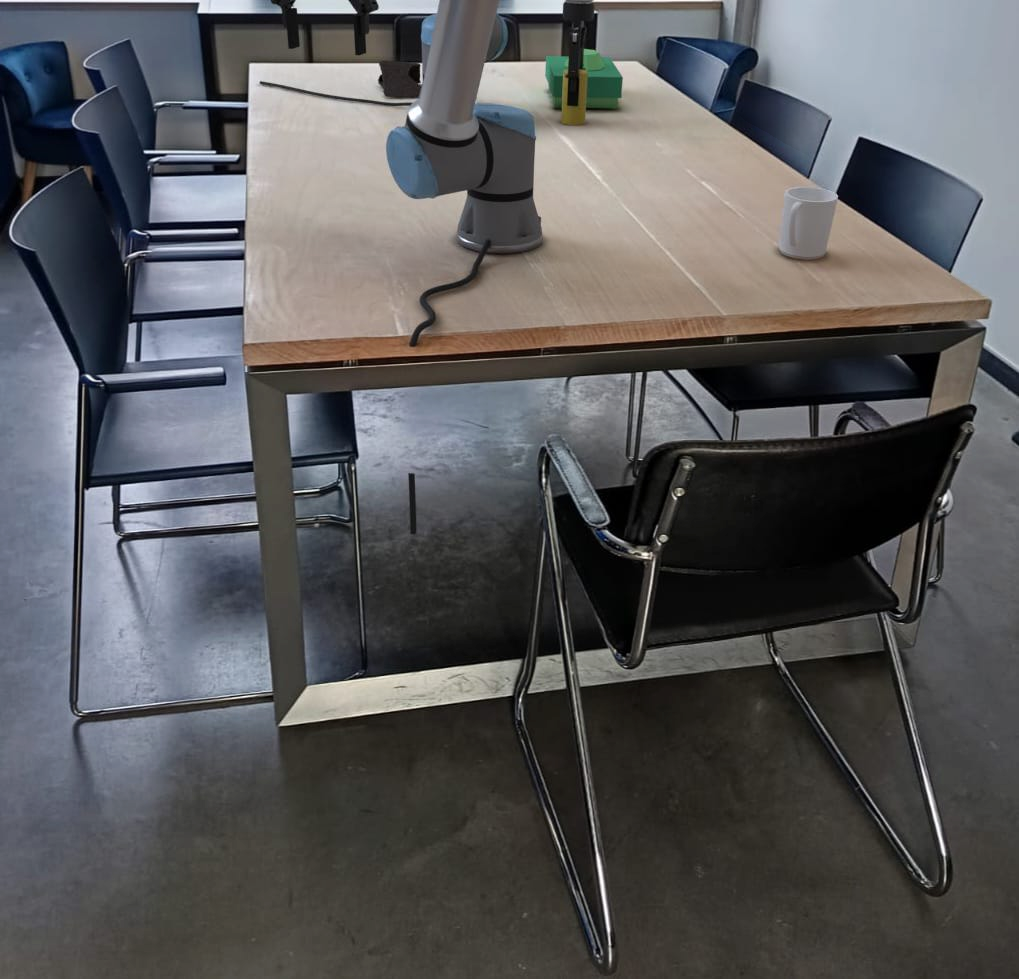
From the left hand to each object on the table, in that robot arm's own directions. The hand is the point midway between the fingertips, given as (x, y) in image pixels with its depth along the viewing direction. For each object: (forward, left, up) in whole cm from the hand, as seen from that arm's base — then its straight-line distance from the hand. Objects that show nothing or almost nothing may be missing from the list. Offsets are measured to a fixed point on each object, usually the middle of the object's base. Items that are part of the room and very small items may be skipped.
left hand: (574, 102), depth 271 cm
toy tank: (-20, +22, -5) cm, 30 cm away
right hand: (+22, -85, +23) cm, 91 cm away
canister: (0, 0, -5) cm, 5 cm away
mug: (+95, -36, -5) cm, 102 cm away
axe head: (-54, -13, -5) cm, 55 cm away
